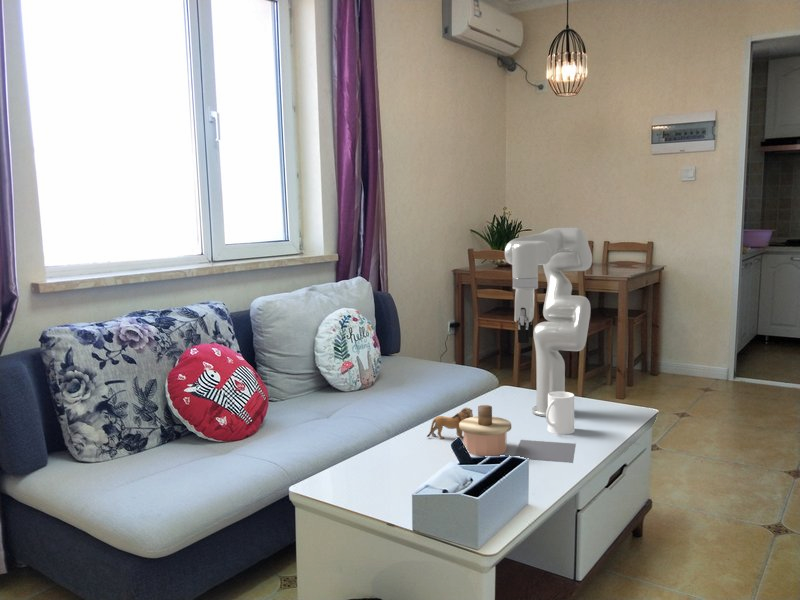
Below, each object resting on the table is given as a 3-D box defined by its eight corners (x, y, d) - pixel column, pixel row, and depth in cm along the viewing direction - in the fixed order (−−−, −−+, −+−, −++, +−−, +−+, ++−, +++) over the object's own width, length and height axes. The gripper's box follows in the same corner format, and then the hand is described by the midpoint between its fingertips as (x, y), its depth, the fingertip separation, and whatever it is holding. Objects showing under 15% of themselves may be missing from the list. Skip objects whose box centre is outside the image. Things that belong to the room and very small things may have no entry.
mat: (520, 441, 203) (520, 439, 203) (575, 445, 198) (575, 443, 198) (513, 460, 188) (513, 457, 188) (572, 464, 183) (572, 462, 183)
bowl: (469, 442, 204) (468, 419, 203) (508, 445, 200) (508, 422, 199) (460, 455, 192) (460, 432, 191) (502, 459, 189) (502, 434, 188)
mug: (555, 440, 203) (555, 401, 202) (534, 433, 210) (534, 396, 209) (580, 432, 211) (580, 394, 209) (559, 425, 217) (559, 389, 216)
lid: (465, 418, 205) (464, 398, 204) (514, 421, 200) (514, 401, 200) (454, 433, 191) (453, 412, 190) (507, 436, 186) (507, 415, 185)
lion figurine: (471, 432, 213) (470, 405, 212) (475, 438, 208) (474, 409, 207) (425, 435, 211) (424, 407, 210) (428, 441, 206) (427, 412, 205)
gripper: (516, 281, 211) (516, 334, 213) (508, 286, 195) (509, 344, 197) (540, 281, 209) (541, 335, 211) (534, 286, 193) (535, 345, 195)
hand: (525, 339), depth 204 cm, fingers open, 9 cm apart
